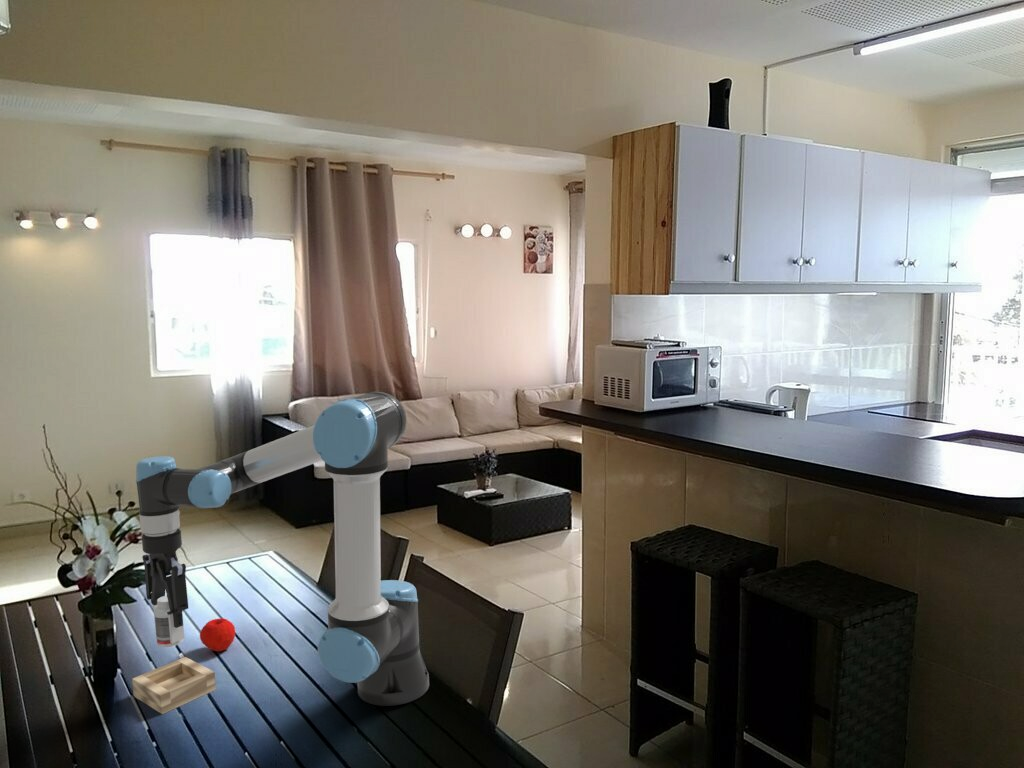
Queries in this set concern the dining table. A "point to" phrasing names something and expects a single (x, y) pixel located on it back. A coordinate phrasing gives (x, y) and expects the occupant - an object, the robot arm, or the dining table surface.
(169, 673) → the maple holder
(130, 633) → the dining table surface
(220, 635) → the apple
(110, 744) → the dining table surface
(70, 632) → the dining table surface
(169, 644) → the pill bottle
